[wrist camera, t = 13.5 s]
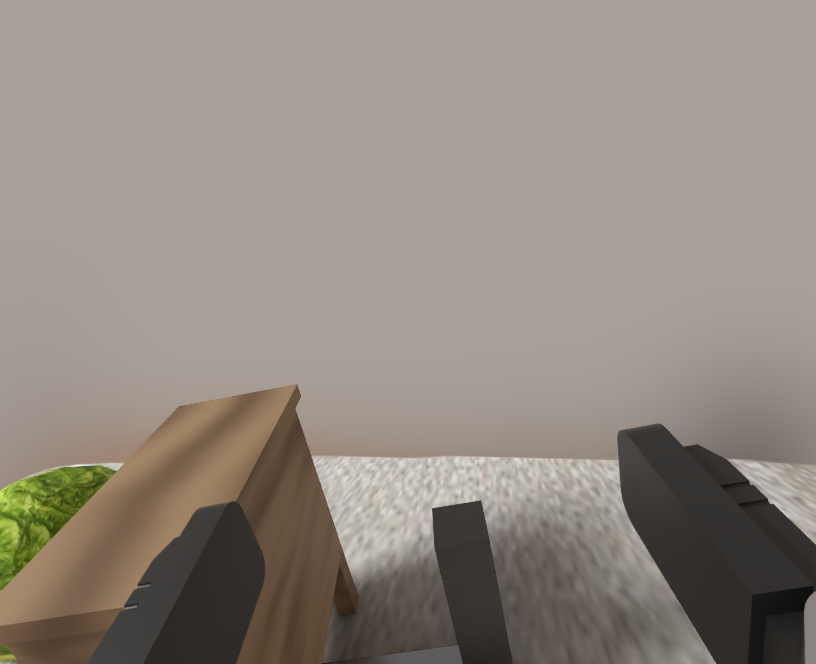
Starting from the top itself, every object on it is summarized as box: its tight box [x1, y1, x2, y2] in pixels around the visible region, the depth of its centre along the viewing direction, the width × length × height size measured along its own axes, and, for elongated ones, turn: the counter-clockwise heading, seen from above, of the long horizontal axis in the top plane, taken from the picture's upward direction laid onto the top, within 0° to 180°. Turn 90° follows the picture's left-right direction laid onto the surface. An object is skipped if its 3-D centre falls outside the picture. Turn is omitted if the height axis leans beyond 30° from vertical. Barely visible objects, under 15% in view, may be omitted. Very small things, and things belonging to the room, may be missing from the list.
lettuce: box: [0, 465, 117, 661], centre depth 44 cm, size 15×24×16 cm
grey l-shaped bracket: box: [322, 501, 512, 664], centre depth 29 cm, size 21×4×14 cm, turn 90°
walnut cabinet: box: [0, 385, 358, 664], centre depth 28 cm, size 9×18×20 cm, turn 0°
